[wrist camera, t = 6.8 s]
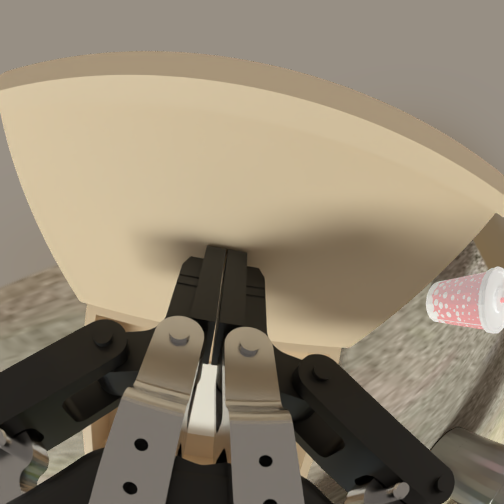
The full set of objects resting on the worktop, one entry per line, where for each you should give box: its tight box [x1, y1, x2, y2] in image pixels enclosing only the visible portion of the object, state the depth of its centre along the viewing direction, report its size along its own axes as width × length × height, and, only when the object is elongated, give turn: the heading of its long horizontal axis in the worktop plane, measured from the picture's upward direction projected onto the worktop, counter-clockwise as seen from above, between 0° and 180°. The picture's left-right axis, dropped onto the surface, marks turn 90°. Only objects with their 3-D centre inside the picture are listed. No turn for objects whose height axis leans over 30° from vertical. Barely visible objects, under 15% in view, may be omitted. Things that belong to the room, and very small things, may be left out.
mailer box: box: [83, 304, 341, 479], centre depth 18 cm, size 18×14×5 cm
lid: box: [0, 51, 504, 348], centre depth 10 cm, size 18×15×2 cm
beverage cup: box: [426, 267, 504, 333], centre depth 19 cm, size 6×6×14 cm
